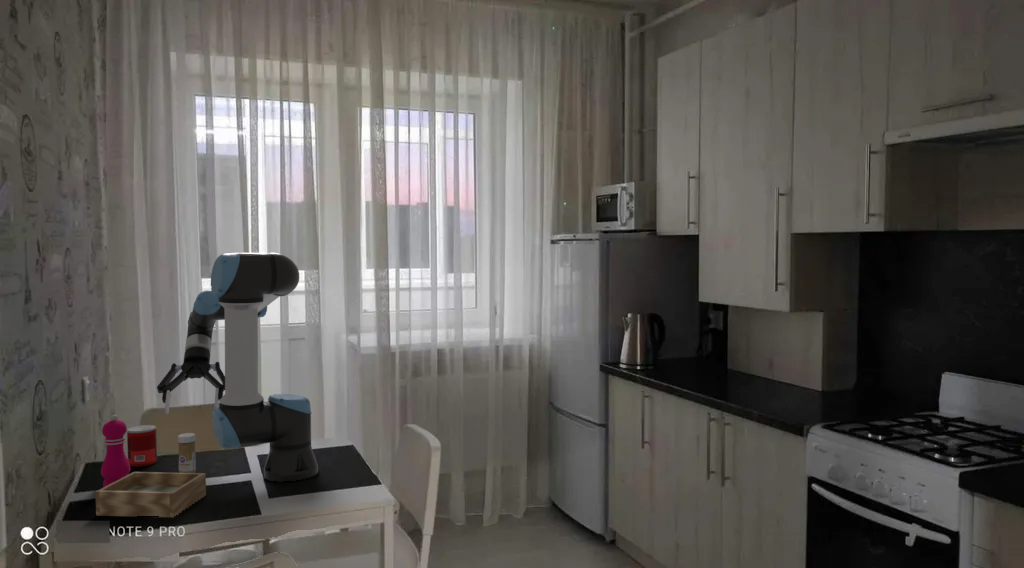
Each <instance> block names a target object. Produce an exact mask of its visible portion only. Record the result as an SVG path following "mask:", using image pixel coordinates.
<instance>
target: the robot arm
mask: <svg viewBox="0 0 1024 568" xmlns="http://www.w3.org/2000/svg"><path fill="white" fill-rule="evenodd" d="M299 281H300V271H299V268H298V266H297V265H296V263H295V262H294V261H293V260H292V259H291V258H289V257H288V256H286V255H284V254H281V253H279V252H278V253H277V252H231V253H221V254H219V256H217V257H216V259H215V260H214V263H213V266H212V268H211V273H210V289H207V290H202V291H201V292H199V293H198V294H197V296H196V299H195V300H194V303H193V308H192V311H191V312H190V314H189V316H188V320H187V331H186V332H187V333H186V340H185V347H184V356H183V362H182V364H181V365H180V364H177V363H175V362H174V363H172V364H171V367H170V369H169V370H168V372H167V373H166V375H165V376H164V377H163V378H162V380H161V381H160V382H159V383H158V385H157V387H156V389H157V392H158V394H162V395H161V397H162V398H161V399H162V403H163V404H164V412H165V414H167V415H169V413H170V408H171V407H170V405H171V398H172V394H171V392H173V390H175V389H176V388H177V387H178V386H179V385H181V384H182V383H183V382H185V381H186V380H188V379H191V380H192V379H201V378H203V379H205V380H206V381H208V382H209V383H210V384H211V385H212V386H213V387H214V388H215V395H214V405H213V407H214V408H213V409H212V413H211V421H212V428H213V433H214V435H215V438H216V442H217V443H218V444H219V446H220V447H221V448H222V449H224V450H234V449H238V450H239V449H241V448H246V447H247V448H248V447H253V446H259V445H263V444H265V445H266V444H268V443H269V452H268V455H267V457H266V461H265V464H264V468H263V478H264V479H265V480H266V479H267V481H270V482H274V481H277V482H276V483H284V482H283V481H293V482H297V481H296V480H300V481H303V480H302V479H304V480H307V479H306V478H308V479H310V477H311V478H313V477H314V476H316V475H318V473H319V465H318V460H317V459H316V455H315V453H314V450H313V447H312V411H311V401H310V399H309V398H307V397H306V396H303V395H298V394H288V393H287V394H286V393H278V394H277V393H276V394H271V395H269V396H268V397H267V401H265V400H264V399H265V398H264V396H263V395H261V393H260V392H259V354H258V353H259V351H258V350H259V348H258V347H259V345H258V344H259V343H258V342H259V340H258V339H259V338H258V337H259V335H258V334H259V330H258V328H259V326H258V325H259V324H258V323H259V320H258V318H263V317H265V316H266V315H267V312H268V306H269V305H270V304H272V303H273V302H275V300H277V299H278V298H280V297H284V296H285V297H286V296H287V295H289V294H290V293H292V292H293V291H294V290H295V289H296V288H297V287H298V284H299ZM217 321H224V373H223V371H222V369H221V365H220V362H219V361H215V362H214V363H210V361H211V351H212V349H211V348H212V340H213V339H212V338H213V332H214V331H213V330H214V327H215V324H216V322H217ZM211 370H213V372H216V375H217V377H218V378H219V380H220V381H221V382H220V381H219V380H218V379H217V378H216V377H214V375H212V374H211V373H210V372H209V371H211ZM179 371H180V372H179ZM177 373H179V374H178V375H177V376H176V374H177ZM175 376H176V377H175ZM174 377H175V378H174Z"/></svg>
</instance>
